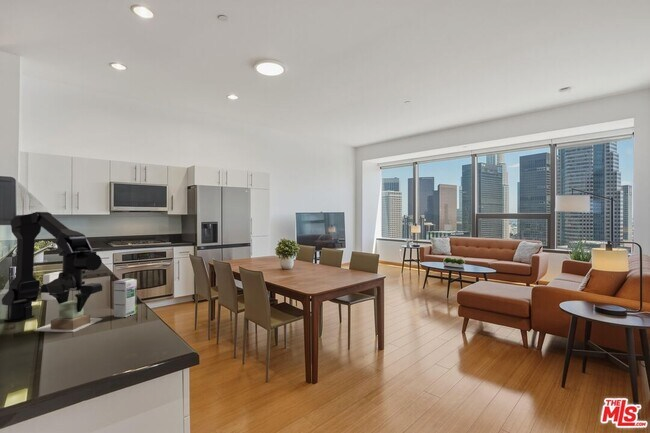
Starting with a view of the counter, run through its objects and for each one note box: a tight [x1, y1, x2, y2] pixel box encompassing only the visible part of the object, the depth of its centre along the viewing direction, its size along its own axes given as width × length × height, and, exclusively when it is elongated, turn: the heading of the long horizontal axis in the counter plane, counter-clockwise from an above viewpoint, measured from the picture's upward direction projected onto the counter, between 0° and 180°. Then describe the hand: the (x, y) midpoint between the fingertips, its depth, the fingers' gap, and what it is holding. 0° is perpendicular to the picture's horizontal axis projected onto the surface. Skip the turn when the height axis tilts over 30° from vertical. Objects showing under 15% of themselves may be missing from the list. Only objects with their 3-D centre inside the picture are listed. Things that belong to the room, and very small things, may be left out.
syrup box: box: [113, 278, 138, 318], centre depth 131 cm, size 6×6×14 cm
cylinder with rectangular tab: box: [40, 271, 61, 301], centre depth 155 cm, size 9×9×12 cm
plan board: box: [33, 313, 103, 333], centre depth 118 cm, size 14×14×4 cm
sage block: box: [58, 299, 85, 319], centre depth 116 cm, size 5×5×5 cm
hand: (71, 311), depth 116 cm, fingers open, 5 cm apart
